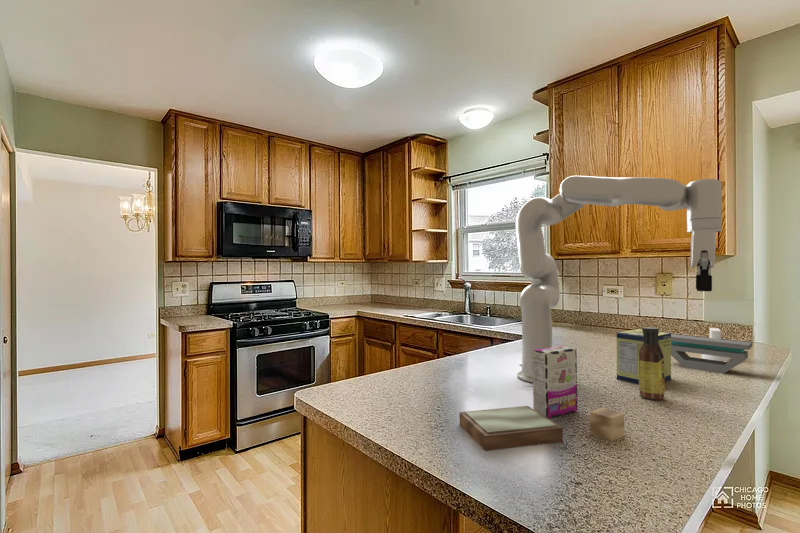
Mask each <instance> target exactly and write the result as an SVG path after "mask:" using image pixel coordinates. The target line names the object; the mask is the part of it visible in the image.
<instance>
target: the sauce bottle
mask: <svg viewBox="0 0 800 533" xmlns="http://www.w3.org/2000/svg"><path fill="white" fill-rule="evenodd" d="M641 329H642V332H643V345H642V346H641V348H640V350H639V384H638V390H639V395H640V396H641V397H642V398H645V399H647V400H653V401H654V400H657V401H659V400H663V399H664V398H665V388H666V387H665V381H664V356H663V353H662V350H661V348H660V345H659V342H658V334H659V332H660V331H659V328H658V327H653V326H652V327H651V326H644V327H642V328H641Z"/></svg>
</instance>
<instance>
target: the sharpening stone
mask: <svg viewBox="0 0 800 533" xmlns="http://www.w3.org/2000/svg"><path fill="white" fill-rule="evenodd" d="M752 347H753V341H751V342H750V341H743V340H733V339H723V338H721V339H716V338H710V337H705V336H695V335H685V334H676V333H671V358H673V359H674V360H676V362H678V364H680V365H681V366H682V367H683V369H691V370H696V371H697V370H698V371H702V370H703V372H704V371H705V372H708V373H715V372H716V374H725V373H727V372H729V371H730V370H732V369H733V368H735V367H737V366H738V365H740V364H742V363H743V362H745V361H746V360H747V359H748V358H749V350H750V349H752ZM688 353H692V354H699V355H701V354H706V355H713V356H721V357H729V361H728V362H724V361H716V360H709V359H702V358H701V357H700V358H699V357H693V356H690V355H688ZM730 358H731V359H730Z"/></svg>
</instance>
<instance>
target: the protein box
mask: <svg viewBox="0 0 800 533" xmlns="http://www.w3.org/2000/svg"><path fill="white" fill-rule="evenodd" d="M671 334H672V332H665V331H659V334H658V342H659V345H660V348H661V350H662V353H663V356H664V382H666V381H670V380H671V379H672V356H671ZM642 345H643V332H642V328H637V329H631V330H625V331H619V332H616V379H617V380H620V381H622V382H627V383H631V384H632V383H633V384H637V385H639V350H640V348H641V346H642Z"/></svg>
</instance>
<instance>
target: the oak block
mask: <svg viewBox="0 0 800 533" xmlns="http://www.w3.org/2000/svg"><path fill="white" fill-rule="evenodd" d="M589 412H590V414H589V417H590V418H589V420H590V423H589V424H590V426H589V428H590V429H589V433H590V435H594V436H596V437H599V438H602V439H605V440H607V441H610V442H614V441H616V440H619V439H621V438H622V437H623V438H624V437H625V413H623V412H620V411H617V410H614V409H610V408H607V407H603V406H602V407H600V408H597V409H594V410H591V411H589Z"/></svg>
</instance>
